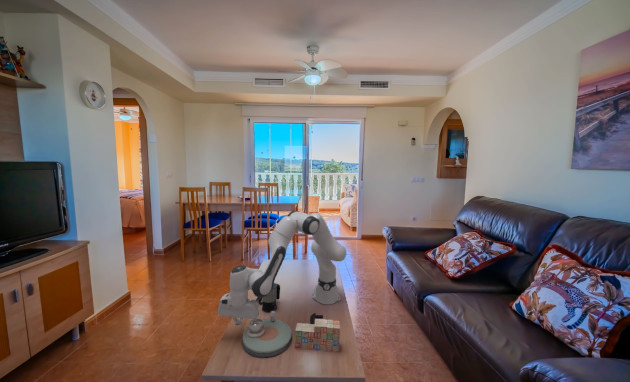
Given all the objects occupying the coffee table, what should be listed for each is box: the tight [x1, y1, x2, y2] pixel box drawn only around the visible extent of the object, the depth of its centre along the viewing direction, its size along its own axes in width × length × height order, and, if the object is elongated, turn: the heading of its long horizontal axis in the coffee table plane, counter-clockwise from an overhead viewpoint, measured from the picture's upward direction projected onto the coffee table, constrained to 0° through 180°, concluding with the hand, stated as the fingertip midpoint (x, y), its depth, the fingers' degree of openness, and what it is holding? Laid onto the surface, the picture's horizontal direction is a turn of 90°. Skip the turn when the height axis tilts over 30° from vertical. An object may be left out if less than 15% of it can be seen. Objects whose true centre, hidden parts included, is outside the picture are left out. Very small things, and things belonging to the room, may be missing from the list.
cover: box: [247, 318, 265, 338], centre depth 129 cm, size 9×9×6 cm
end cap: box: [309, 312, 324, 324], centre depth 137 cm, size 10×7×7 cm
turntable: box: [242, 310, 292, 353], centre depth 128 cm, size 24×24×6 cm
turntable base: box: [241, 331, 293, 359], centre depth 129 cm, size 25×25×2 cm
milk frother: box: [255, 282, 281, 314], centre depth 159 cm, size 14×16×15 cm
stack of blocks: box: [294, 318, 341, 353], centre depth 125 cm, size 21×6×12 cm, turn 85°
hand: (238, 324), depth 129 cm, fingers closed
